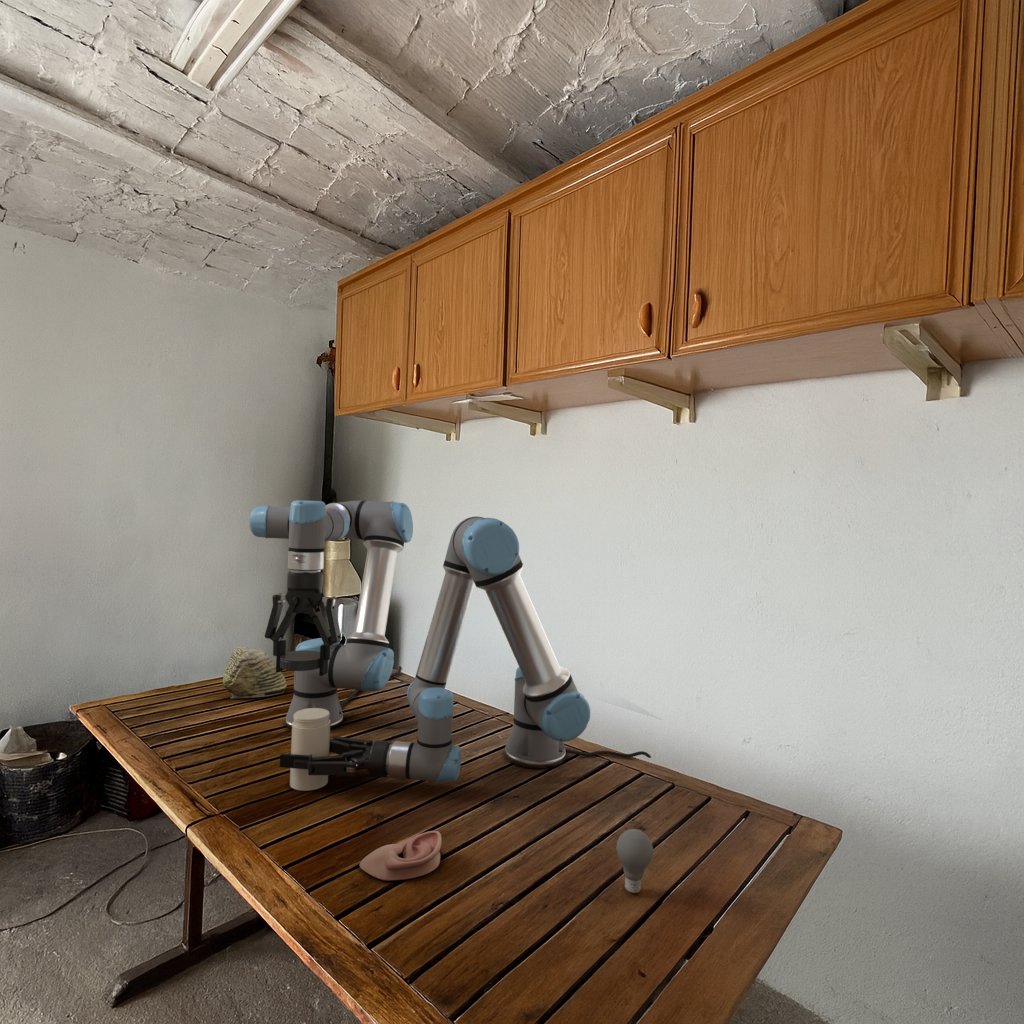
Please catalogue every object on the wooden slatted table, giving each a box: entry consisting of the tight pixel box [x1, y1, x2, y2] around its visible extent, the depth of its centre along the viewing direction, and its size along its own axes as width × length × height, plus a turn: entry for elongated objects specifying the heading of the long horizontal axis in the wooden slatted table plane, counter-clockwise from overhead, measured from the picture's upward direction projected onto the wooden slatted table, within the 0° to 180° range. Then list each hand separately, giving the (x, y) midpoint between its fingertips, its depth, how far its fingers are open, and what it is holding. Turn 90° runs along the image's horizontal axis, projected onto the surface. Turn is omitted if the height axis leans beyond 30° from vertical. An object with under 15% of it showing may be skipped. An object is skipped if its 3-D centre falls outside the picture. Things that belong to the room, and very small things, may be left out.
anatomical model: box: [359, 830, 443, 882], centre depth 111 cm, size 13×4×12 cm
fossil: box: [222, 646, 288, 699], centre depth 198 cm, size 9×18×15 cm, turn 132°
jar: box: [289, 708, 331, 792], centre depth 140 cm, size 8×8×15 cm
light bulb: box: [615, 828, 654, 894], centre depth 106 cm, size 6×6×10 cm
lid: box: [280, 650, 320, 672], centre depth 139 cm, size 9×9×2 cm
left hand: (301, 672), depth 139 cm, fingers closed on lid, 9 cm apart
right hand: (289, 752), depth 140 cm, fingers closed on jar, 8 cm apart
